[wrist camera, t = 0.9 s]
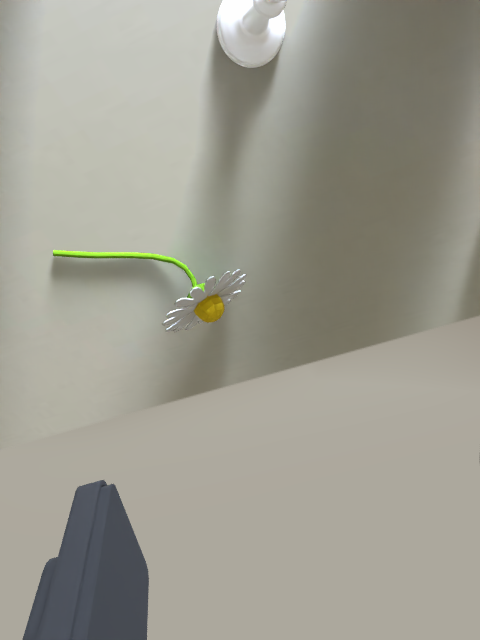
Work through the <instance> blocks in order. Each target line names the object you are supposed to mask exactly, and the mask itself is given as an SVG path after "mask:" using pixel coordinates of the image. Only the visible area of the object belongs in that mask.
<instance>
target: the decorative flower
mask: <svg viewBox="0 0 480 640" xmlns="http://www.w3.org/2000/svg"><path fill="white" fill-rule="evenodd" d="M53 256H62V257H77V258H139V259H154V260H159V261H164V262H168V263H173V264H175V265H176V266H178V267H180V268H181V269H183V270H184V271H185V272H186V274H187V275H188V277H189V278H190V280H191V282H192V286H193V288H192V289H191V291H190V292H189V294H188V296H187V298H180V299H178V300H177V301H176V302H175V305H176V306H177V307H186V308H182V309H178V310H174V311H171V312H169V313H168V314H166V317H167V318H170V319H168V320H166V321H164V322H163V323H162V325H163V326H166V325H170V324H172V323H174V322H176V321H178V320H180V319H181V320H180V321H178V322H176V323H175V324H173V325H172V326H170V327H169V328H167V329H166V332H169V331H172V330H173V331H174V332H176V331H179V330H181V329H182V328H184V327H185V326H186V325H187V324H188V323H189V322H190V321H191V320H192V321H191V322H190V324H189V325H188V326H187V327H186V329H185V330H189V329H191V328H192V327H193V326H195V325H196V323H197V322H198V323H202V322H203V321H205V322H207V323H208V322H215V321H217V320H218V319H220V317H221V316H222V314H223V312H224V306H226V305H227V304H229V303H230V302H231V300H230V299H232V298H234V297H236V296H237V295H238V294H240V292H241V291H236V292H234V291H235V290H237V289H239V288H240V287H241V286H243V285H244V283H245V280H244V279H245V278H246V274H243V275H242V276H241V277H239V278H238V279H237V280H236V281H234V280H235V279H236V278H237V277H238V275H239V274H240V272H241V271H240V269H239V270H236V271H235V272H234V273H233V274H232V275H231V276H230V274H231V272H229V271H227V272H226V273H224V274H223V275H222V277H221V278H220V280H219V281H218V283H217V285H216V286H215V282H216V279H215V277H214V276H211V277H209V278H208V279H207V280H206V282H205V283H203V284H198V285H197V282H196V279H195V277H194V276H193V274H192V273H191V272H190V270H189V269H188V268H187V266H186V265H184V264H183V263H181V262H179V261H177V260H176V259H174V258H171V257H166V256H161V255H157V254H149V253H94V252H73V251H57V250H54V251H53ZM233 281H234V282H233ZM232 282H233V283H232ZM231 283H232V284H231ZM228 285H229V286H228ZM232 292H234V293H232ZM230 293H231V294H230Z"/></svg>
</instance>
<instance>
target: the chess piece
mask: <svg viewBox="0 0 480 640" xmlns="http://www.w3.org/2000/svg"><path fill="white" fill-rule="evenodd" d="M286 1H287V0H224V1H223V2H222V4H221V6H220V9H219V12H218V16H217V35H218V39H219V42H220V44H221V46H222V48H223V50H224V52H225V53H226V54H227V56H228V57H229V58H230V59H231V60H233V61H234V62H235V63H237V64H239V65H241V66H244V67H250V68H254V67H260V66H262V65H265V64H266V63H268V62H269V61H271V60H272V59H273V58H274V57H275V55H276V54H277V53H278V51H279V49H280V47H281V45H282V42H283V39H284V35H285V16H284V12H283V10H284V8H285V6H286Z"/></svg>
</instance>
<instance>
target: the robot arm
mask: <svg viewBox="0 0 480 640" xmlns="http://www.w3.org/2000/svg"><path fill="white" fill-rule="evenodd" d="M148 585H149V578H148V569H147V565H146V561H145V559H144V556H143V554H142V551H141V549H140V546H139V544H138V542H137V539H136V536H135V534H134V531H133V529H132V526H131V524H130V521H129V519H128V516H127V514H126V512H125V509H124V506H123V504H122V501H121V499H120V496H119V494H118V491H117V489H116V487H115V485H114V484H111V485H107V484H106V482H105V481H104V480H101V481H97V482H94V483H90V484H86V485H83V486H79V487H78V488H77V490H76V492H75V496H74V500H73V503H72V507H71V511H70V515H69V518H68V522H67V526H66V529H65V533H64V537H63V541H62V544H61V548H60V552H59V555H58V557H56V558H52V559H50V560H49V561H48V562H47V563H46V565H45V567H44V570H43V573H42V576H41V580H40V583H39V586H38V590H37V593H36V596H35V600H34V603H33V606H32V610H31V613H30V616H29V620H28V623H27V627H26V630H25V634H24V637H23V640H147V615H148Z"/></svg>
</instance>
